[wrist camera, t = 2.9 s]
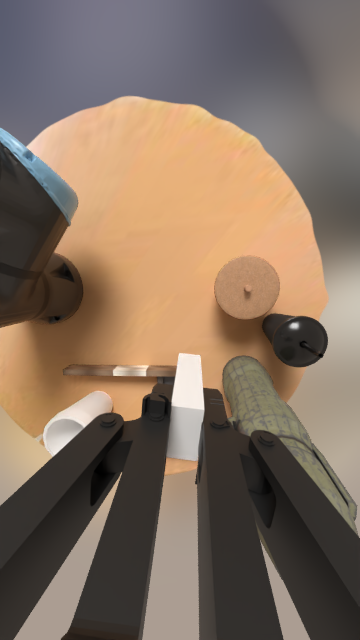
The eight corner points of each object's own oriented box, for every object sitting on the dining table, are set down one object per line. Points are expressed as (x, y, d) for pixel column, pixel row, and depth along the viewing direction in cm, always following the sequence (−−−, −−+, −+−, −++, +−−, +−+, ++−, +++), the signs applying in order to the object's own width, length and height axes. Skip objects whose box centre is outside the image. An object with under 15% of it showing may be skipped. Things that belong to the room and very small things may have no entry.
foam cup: (90, 427, 57) (57, 470, 44) (73, 392, 56) (33, 425, 43) (126, 414, 55) (102, 455, 43) (109, 378, 54) (79, 408, 42)
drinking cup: (250, 313, 49) (279, 335, 29) (288, 301, 48) (345, 315, 28) (260, 348, 50) (296, 392, 30) (298, 337, 49) (361, 375, 29)
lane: (78, 439, 58) (71, 448, 55) (70, 364, 55) (62, 369, 52) (196, 444, 55) (196, 453, 52) (195, 366, 52) (194, 371, 49)
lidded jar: (273, 264, 47) (290, 260, 38) (261, 318, 49) (274, 327, 40) (218, 255, 48) (222, 248, 39) (208, 308, 50) (209, 314, 41)
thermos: (218, 350, 51) (245, 496, 17) (276, 360, 50) (432, 535, 16) (211, 389, 52) (223, 598, 18) (267, 399, 52) (391, 639, 17)
